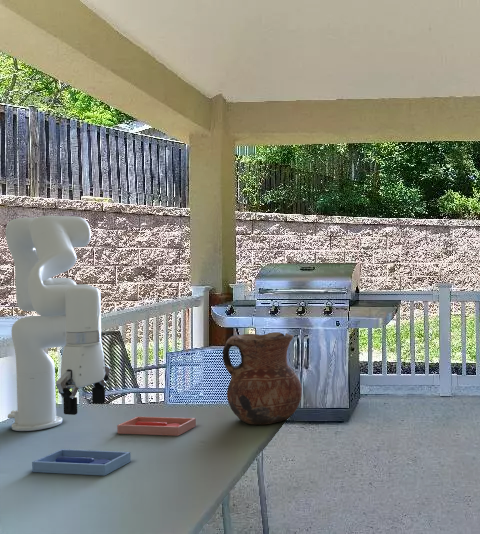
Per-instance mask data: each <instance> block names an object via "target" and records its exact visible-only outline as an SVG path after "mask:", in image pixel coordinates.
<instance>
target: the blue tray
mask: <svg viewBox="0 0 480 534" xmlns="http://www.w3.org/2000/svg"><path fill="white" fill-rule="evenodd" d="M57 457H82V458H93V459H94V460H97V459H109V462H108V463H106V464H86V463H65V462H56V458H57ZM131 459H132V458H131V451H118V450H117V451H115V450H93V449H92V450H91V449H70V448H69V449H68V448H67V449H66V448H60V449H59V450H56V451H54V452H51V453H49V454H47V455H45V456H42V457H40V458H37V459H36V460H33V461H32V462H31V468H32V469H31V473H44V474H46V473H48V474H64V475H65V474H67V475H83V476H84V475H85V476H88V475H89V476H102V477H103V476H107V475H108V474H110V473H113V472H114V471H117V470H119V469H120V468H122V467H123V466H126V465H127V464H129V463H131V462H132V461H131Z"/></svg>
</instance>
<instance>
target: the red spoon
mask: <svg viewBox="0 0 480 534" xmlns="http://www.w3.org/2000/svg"><path fill="white" fill-rule="evenodd" d="M135 425H144V426H174V427H178V426H180V424H177V423H173V424H167V423H165V422H136V424H135Z"/></svg>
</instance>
